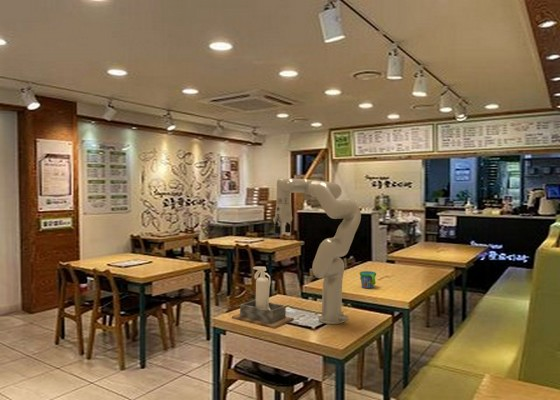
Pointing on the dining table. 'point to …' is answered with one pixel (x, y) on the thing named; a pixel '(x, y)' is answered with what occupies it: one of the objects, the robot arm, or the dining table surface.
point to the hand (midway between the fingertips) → (282, 233)
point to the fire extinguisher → (262, 288)
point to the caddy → (263, 314)
